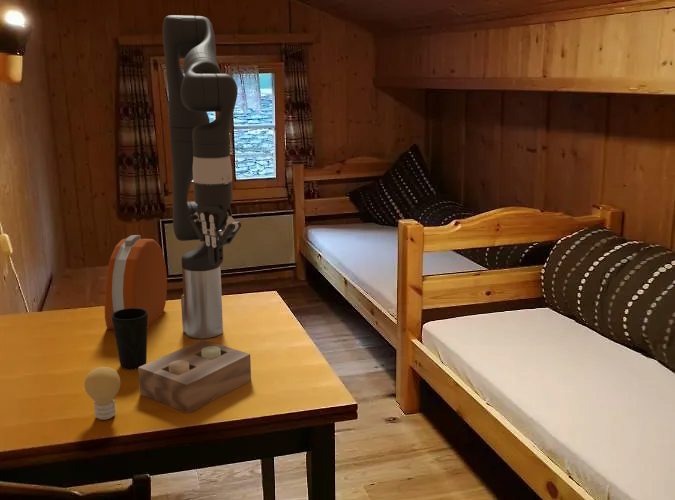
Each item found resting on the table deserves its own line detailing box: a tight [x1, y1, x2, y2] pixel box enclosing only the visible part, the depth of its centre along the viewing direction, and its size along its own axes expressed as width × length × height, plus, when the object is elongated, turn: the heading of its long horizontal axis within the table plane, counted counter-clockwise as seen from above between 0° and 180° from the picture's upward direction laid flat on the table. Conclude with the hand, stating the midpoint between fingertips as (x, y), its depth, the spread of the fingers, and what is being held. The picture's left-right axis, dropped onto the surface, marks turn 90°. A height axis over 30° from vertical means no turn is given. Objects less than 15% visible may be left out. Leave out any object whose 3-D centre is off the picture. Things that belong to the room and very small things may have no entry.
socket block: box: [137, 339, 252, 414], centre depth 146 cm, size 14×18×6 cm
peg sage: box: [201, 346, 221, 360], centre depth 150 cm, size 4×4×7 cm
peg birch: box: [169, 360, 189, 375], centre depth 143 cm, size 4×4×7 cm
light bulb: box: [84, 366, 121, 421], centre depth 134 cm, size 6×6×10 cm
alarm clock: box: [104, 234, 168, 330], centre depth 183 cm, size 22×10×23 cm, turn 172°
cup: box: [111, 308, 148, 370], centre depth 157 cm, size 8×8×12 cm
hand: (216, 263), depth 143 cm, fingers closed
